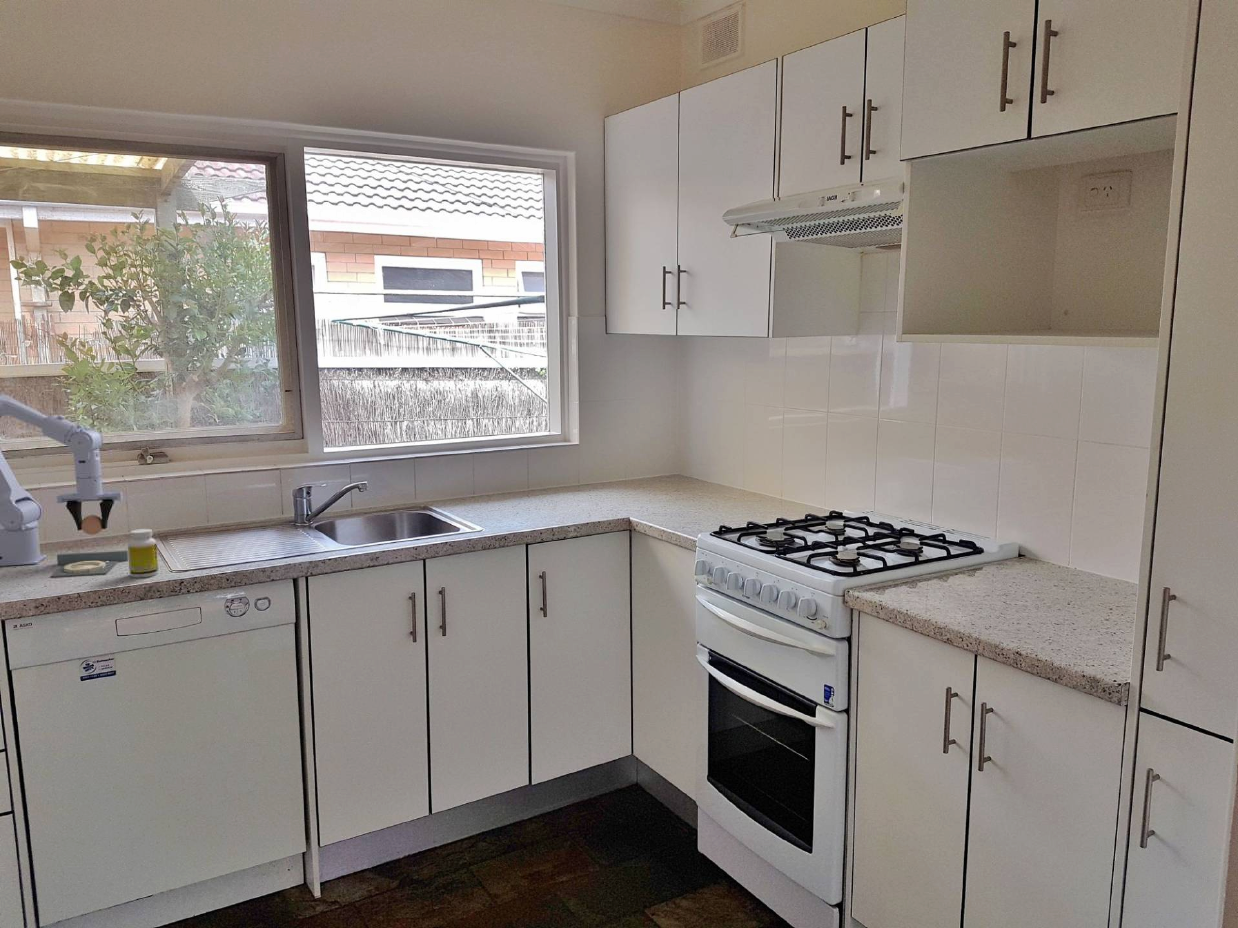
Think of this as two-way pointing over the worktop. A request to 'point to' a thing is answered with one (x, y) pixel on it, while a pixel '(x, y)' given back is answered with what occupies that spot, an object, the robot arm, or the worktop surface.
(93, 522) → the ball
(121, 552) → the acrylic wall
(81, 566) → the slate mat
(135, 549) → the pill bottle
